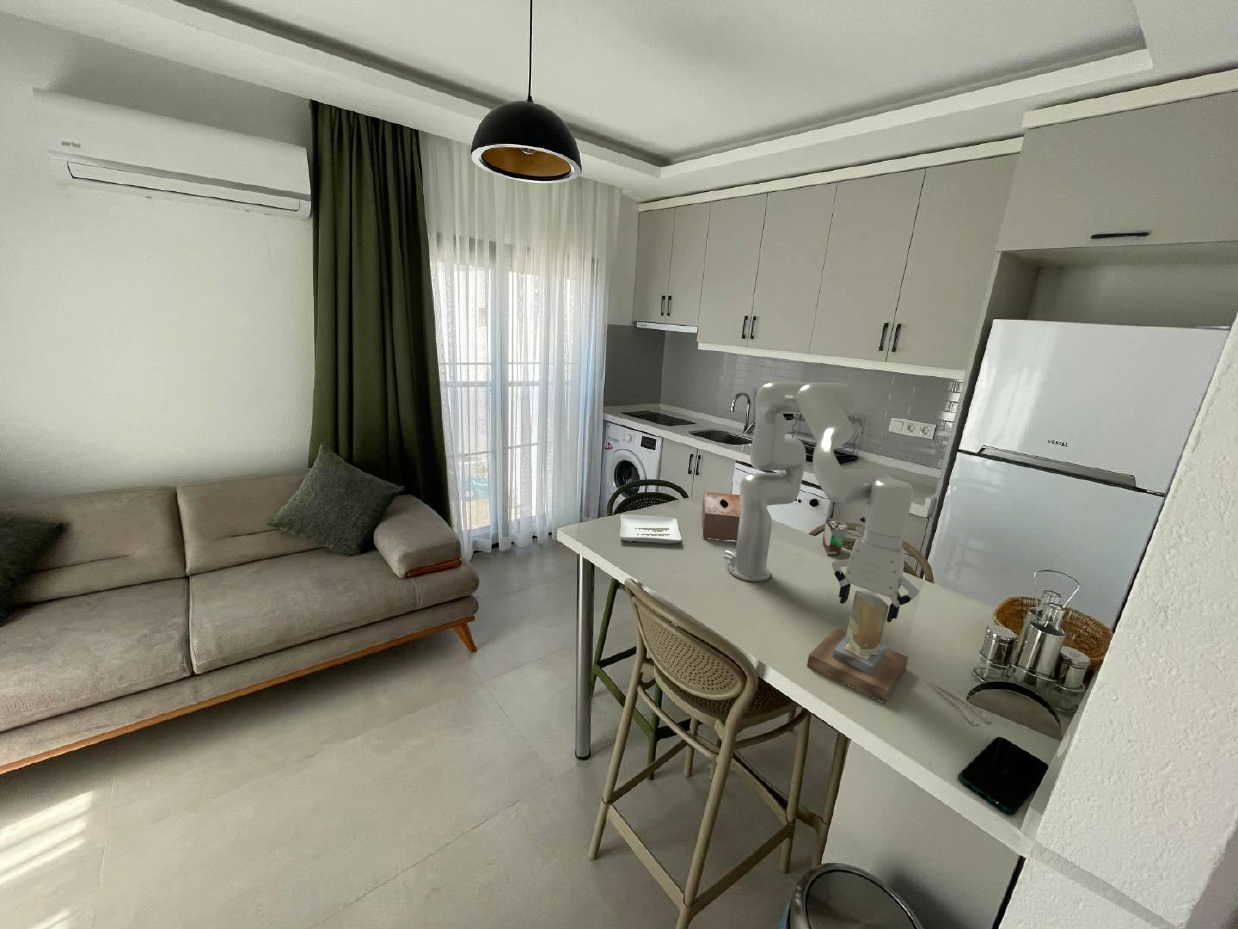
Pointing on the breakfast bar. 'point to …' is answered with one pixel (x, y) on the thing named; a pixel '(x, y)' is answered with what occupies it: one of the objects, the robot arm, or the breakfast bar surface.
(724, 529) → the tissue box cover
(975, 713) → the tweezers
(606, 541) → the breakfast bar surface
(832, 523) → the food container
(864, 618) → the skincare box
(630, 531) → the salad plate
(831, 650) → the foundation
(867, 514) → the robot arm
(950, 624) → the breakfast bar surface
